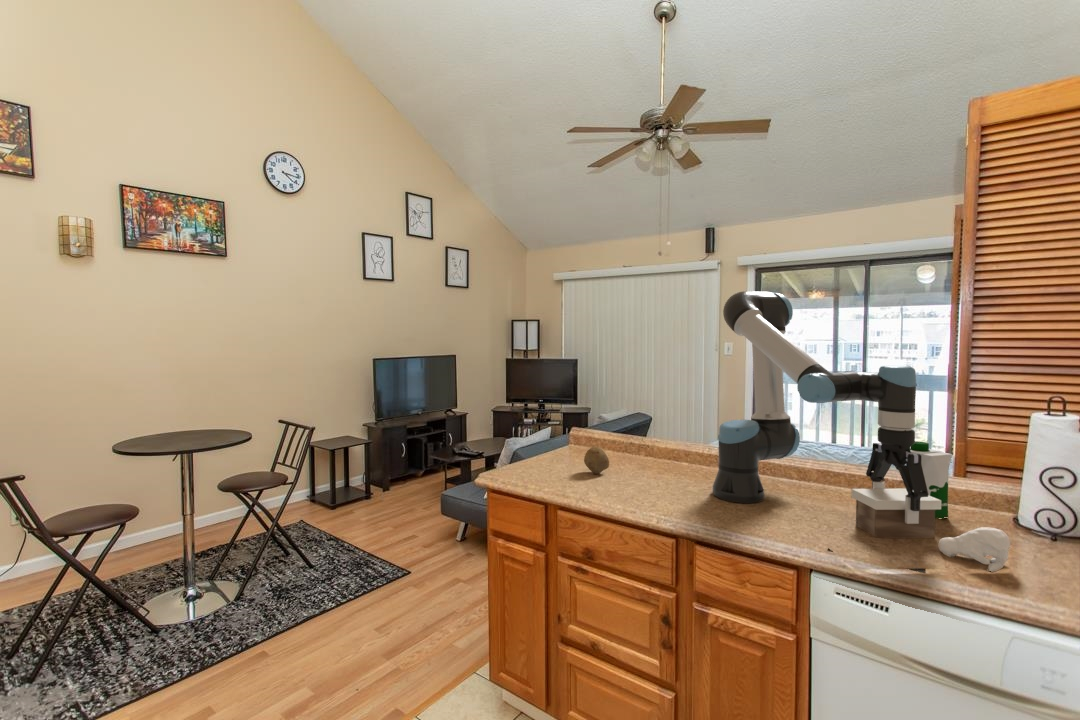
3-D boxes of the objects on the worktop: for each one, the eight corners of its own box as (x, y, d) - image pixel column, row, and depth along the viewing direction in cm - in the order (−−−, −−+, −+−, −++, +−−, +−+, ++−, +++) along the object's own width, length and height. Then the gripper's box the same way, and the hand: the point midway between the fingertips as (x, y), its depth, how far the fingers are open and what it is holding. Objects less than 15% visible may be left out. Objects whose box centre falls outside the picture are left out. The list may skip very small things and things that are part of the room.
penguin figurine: (1008, 535, 101) (934, 525, 110) (1013, 576, 101) (938, 564, 109) (1008, 526, 106) (937, 518, 114) (1012, 566, 106) (941, 555, 114)
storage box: (855, 528, 128) (856, 498, 128) (910, 528, 128) (910, 497, 128) (876, 540, 120) (877, 508, 120) (934, 540, 120) (935, 508, 120)
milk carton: (921, 508, 142) (923, 440, 142) (955, 519, 134) (957, 446, 133) (897, 511, 140) (899, 442, 139) (930, 523, 131) (932, 448, 130)
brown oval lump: (579, 471, 185) (579, 445, 184) (599, 468, 189) (599, 443, 188) (591, 477, 177) (591, 450, 176) (612, 474, 180) (612, 447, 180)
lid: (851, 500, 129) (851, 488, 128) (911, 499, 128) (911, 488, 128) (876, 513, 119) (876, 500, 119) (941, 512, 119) (941, 500, 119)
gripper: (950, 436, 111) (947, 532, 112) (879, 420, 135) (877, 499, 135) (916, 437, 111) (914, 532, 112) (851, 420, 135) (850, 499, 136)
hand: (894, 514), depth 124 cm, fingers open, 11 cm apart
